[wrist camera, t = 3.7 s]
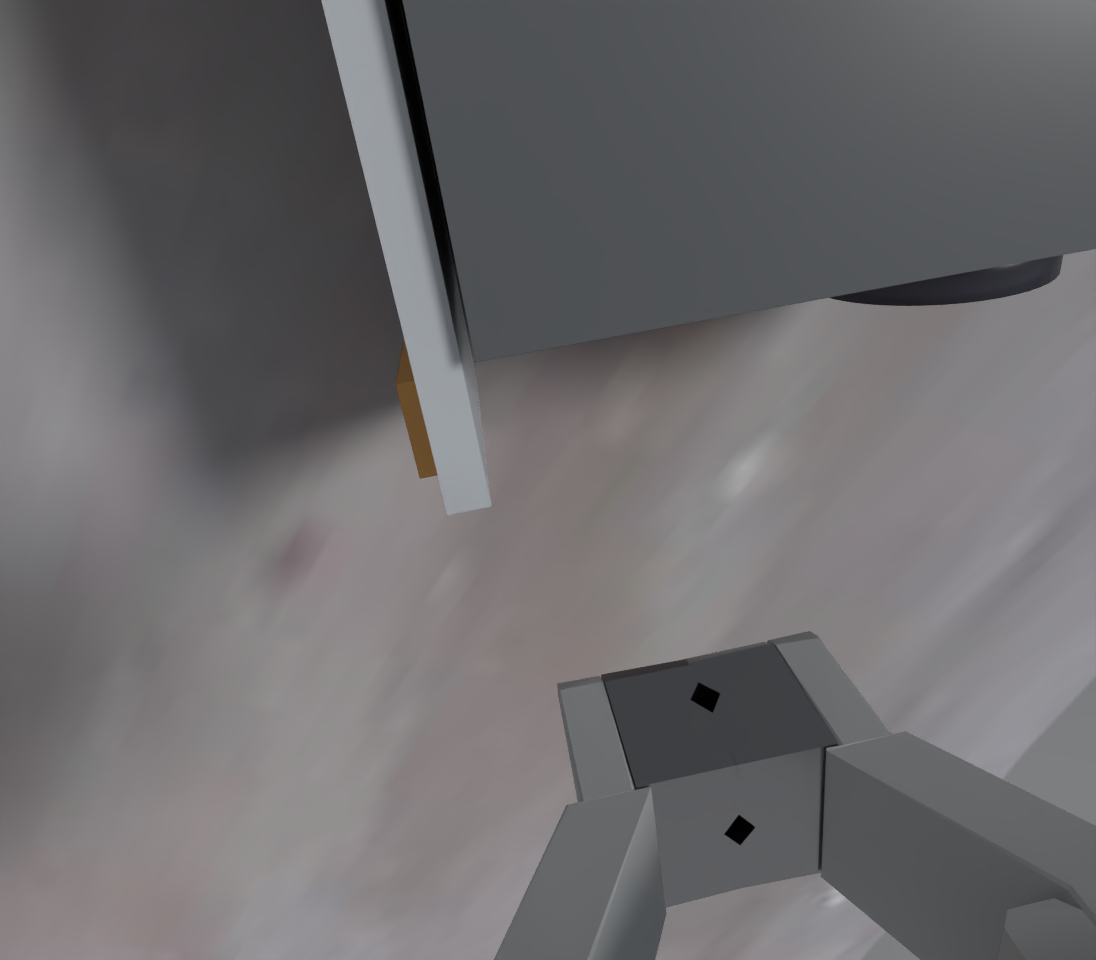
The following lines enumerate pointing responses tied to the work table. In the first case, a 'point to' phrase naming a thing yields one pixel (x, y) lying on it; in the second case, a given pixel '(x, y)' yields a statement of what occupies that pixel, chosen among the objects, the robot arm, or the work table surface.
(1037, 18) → the cabinet body
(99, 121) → the work table surface
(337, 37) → the door
